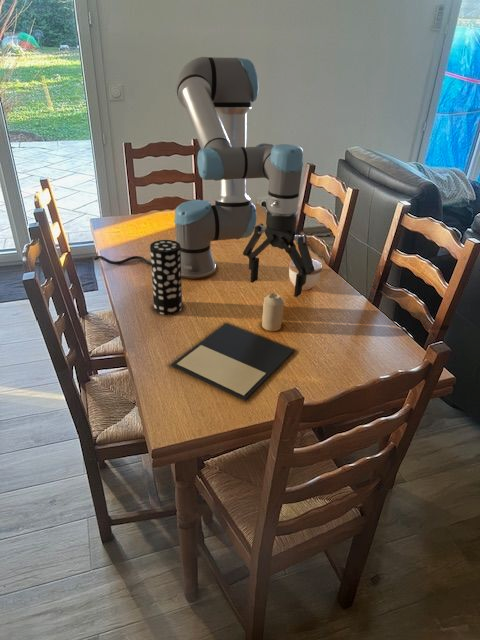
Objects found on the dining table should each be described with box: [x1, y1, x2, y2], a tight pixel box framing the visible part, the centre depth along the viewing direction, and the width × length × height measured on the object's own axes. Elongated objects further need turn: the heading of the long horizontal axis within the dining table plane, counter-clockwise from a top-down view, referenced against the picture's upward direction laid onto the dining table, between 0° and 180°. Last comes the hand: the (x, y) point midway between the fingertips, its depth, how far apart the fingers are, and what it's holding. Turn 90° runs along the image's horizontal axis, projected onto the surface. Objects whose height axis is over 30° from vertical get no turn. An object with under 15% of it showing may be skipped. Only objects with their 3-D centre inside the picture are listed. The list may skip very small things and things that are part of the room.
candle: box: [261, 292, 285, 332], centre depth 131 cm, size 6×6×10 cm
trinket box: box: [288, 258, 323, 291], centre depth 153 cm, size 11×11×9 cm
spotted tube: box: [149, 239, 183, 316], centre depth 135 cm, size 8×8×20 cm
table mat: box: [170, 322, 295, 402], centre depth 120 cm, size 22×24×1 cm
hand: (275, 287), depth 127 cm, fingers open, 13 cm apart
